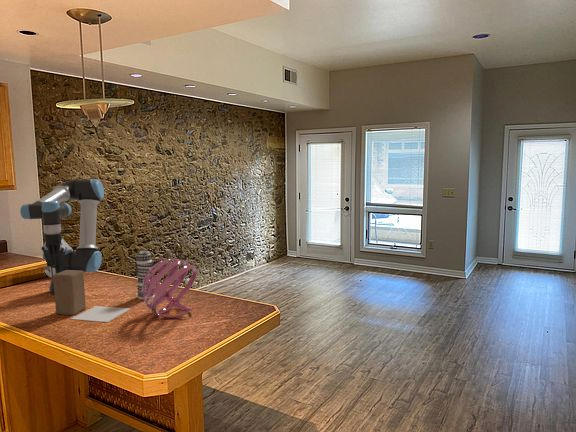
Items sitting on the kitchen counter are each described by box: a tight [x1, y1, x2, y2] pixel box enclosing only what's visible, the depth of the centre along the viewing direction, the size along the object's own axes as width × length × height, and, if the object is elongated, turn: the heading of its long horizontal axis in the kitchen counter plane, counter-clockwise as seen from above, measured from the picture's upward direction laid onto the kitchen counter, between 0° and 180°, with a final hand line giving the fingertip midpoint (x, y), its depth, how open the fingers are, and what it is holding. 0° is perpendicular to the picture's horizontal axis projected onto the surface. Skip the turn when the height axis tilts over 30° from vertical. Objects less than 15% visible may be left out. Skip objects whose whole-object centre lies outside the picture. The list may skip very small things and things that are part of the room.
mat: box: [70, 305, 131, 323], centre depth 212 cm, size 18×20×1 cm
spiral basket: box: [142, 257, 198, 319], centre depth 209 cm, size 28×28×27 cm
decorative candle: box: [134, 250, 155, 300], centre depth 235 cm, size 9×9×25 cm
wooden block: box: [53, 270, 87, 316], centre depth 214 cm, size 10×10×20 cm
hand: (56, 280), depth 215 cm, fingers closed
